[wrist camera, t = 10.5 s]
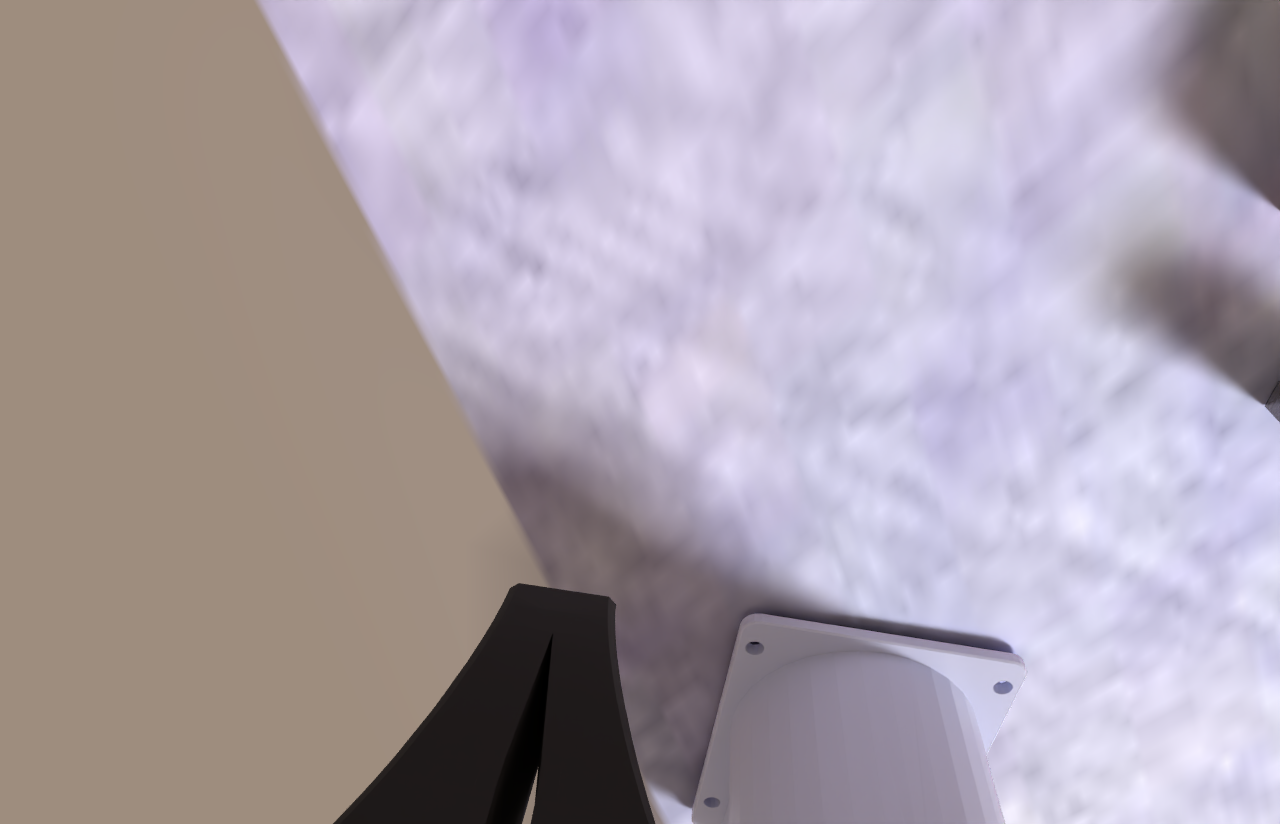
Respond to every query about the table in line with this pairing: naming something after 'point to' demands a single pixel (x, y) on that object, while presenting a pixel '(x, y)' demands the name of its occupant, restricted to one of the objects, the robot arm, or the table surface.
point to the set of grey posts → (1275, 403)
